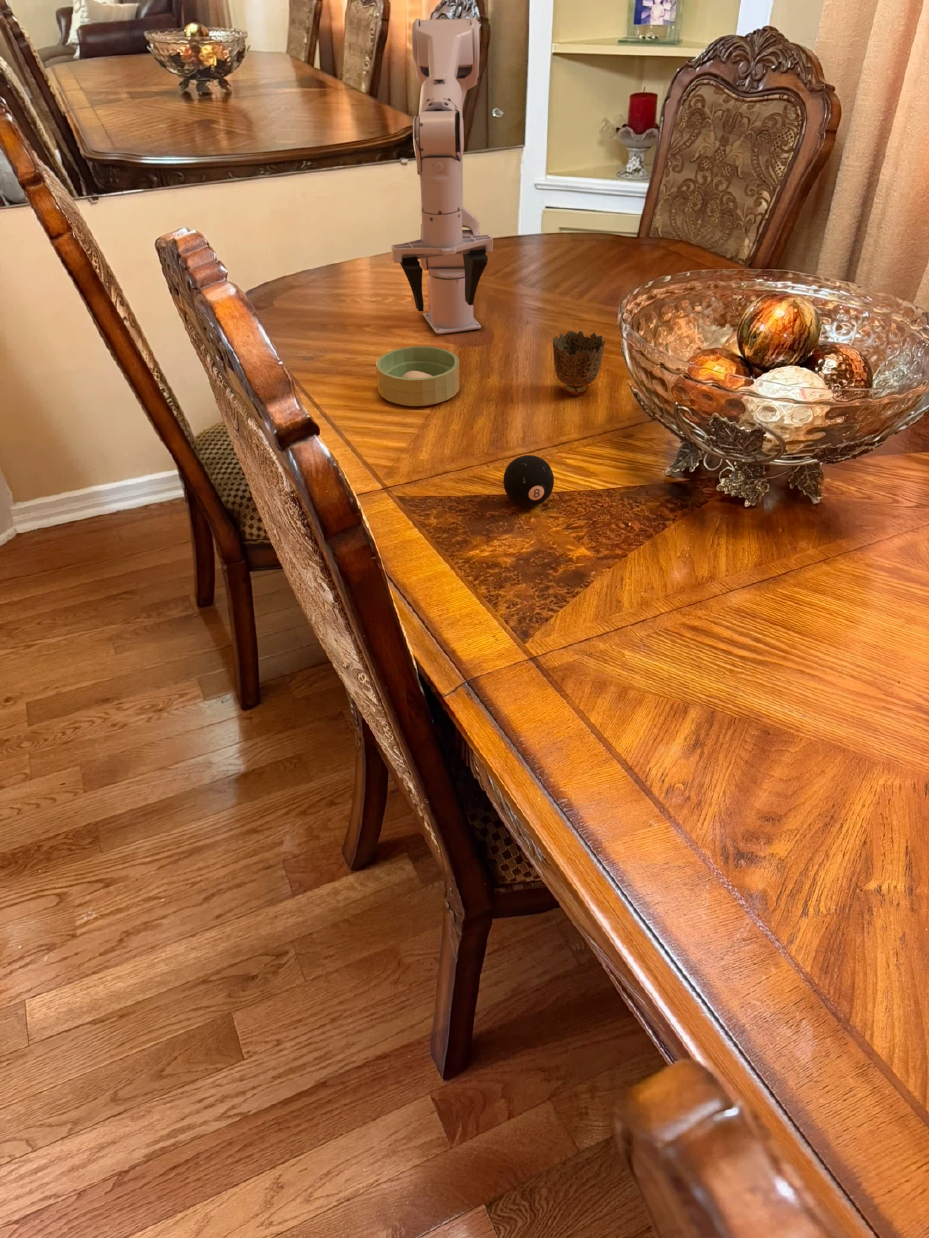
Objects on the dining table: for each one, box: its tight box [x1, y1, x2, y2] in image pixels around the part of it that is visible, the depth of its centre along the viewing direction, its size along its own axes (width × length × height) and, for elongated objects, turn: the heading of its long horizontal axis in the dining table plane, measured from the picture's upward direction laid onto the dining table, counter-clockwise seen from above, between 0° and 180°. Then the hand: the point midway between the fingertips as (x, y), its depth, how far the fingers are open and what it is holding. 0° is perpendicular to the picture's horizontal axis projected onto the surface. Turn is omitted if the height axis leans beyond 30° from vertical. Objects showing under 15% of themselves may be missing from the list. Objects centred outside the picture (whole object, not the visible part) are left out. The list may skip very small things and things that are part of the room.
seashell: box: [402, 371, 433, 378], centre depth 133 cm, size 4×5×2 cm
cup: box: [552, 330, 606, 397], centre depth 130 cm, size 8×7×8 cm
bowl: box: [375, 345, 461, 407], centre depth 132 cm, size 12×12×4 cm
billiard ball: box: [502, 454, 555, 508], centre depth 107 cm, size 6×6×6 cm
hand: (444, 306), depth 132 cm, fingers open, 7 cm apart
